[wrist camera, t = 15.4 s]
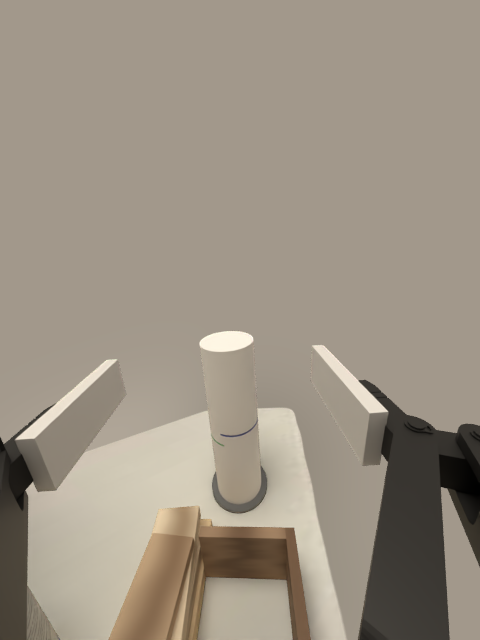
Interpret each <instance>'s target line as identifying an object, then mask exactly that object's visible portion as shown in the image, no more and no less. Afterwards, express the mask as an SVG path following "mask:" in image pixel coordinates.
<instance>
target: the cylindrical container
mask: <svg viewBox="0 0 480 640" xmlns="http://www.w3.org/2000/svg"><path fill="white" fill-rule="evenodd" d="M199 344H200V351H201V359H202V367H203V374H204V382H205V390H206V398H207V405H208V413H209V421H210V428H211V436H212V444H213V451H214V459H215V466H216V474H217V482H218V489H219V492H220V494H221V496H222V497H223V498H224V499H225V500H226V501H228V502H230V503H233V504H244V503H247V502H249V501H251V500H252V499H253V498H255V497H256V495H257V494H258V492H259V490H260V487H261V467H260V449H259V431H258V413H257V395H256V378H255V359H254V341H253V337H252V336H251V335H250V334H247V333H245V332H239V331H226V332H219V333H214V334H211V335H209V336H207V337H205V338H203V339H202V340H201V341H200V343H199Z"/></svg>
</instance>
